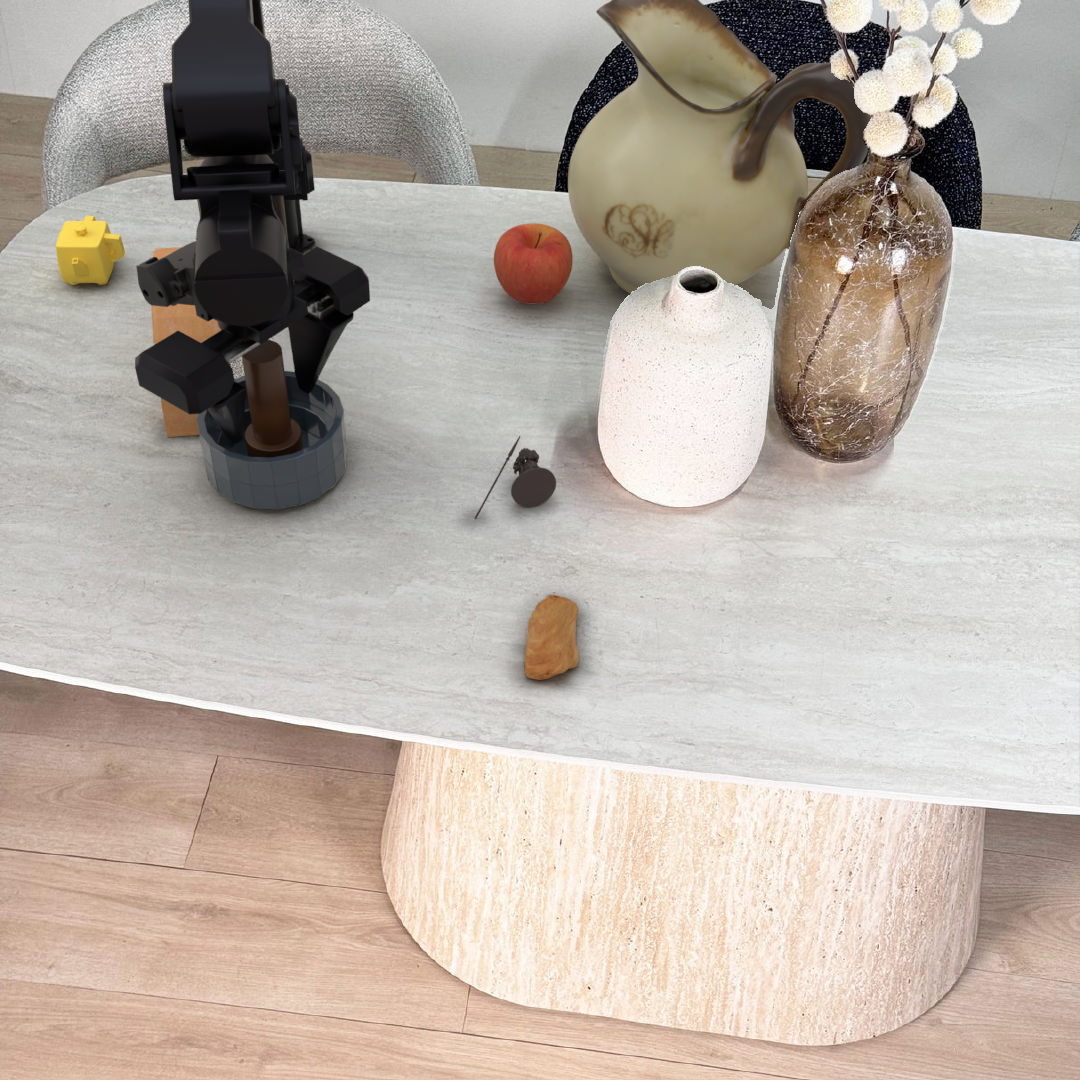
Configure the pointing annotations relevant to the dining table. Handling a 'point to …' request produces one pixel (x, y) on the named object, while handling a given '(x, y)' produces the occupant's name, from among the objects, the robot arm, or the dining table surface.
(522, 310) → the dining table surface
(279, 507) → the bowl
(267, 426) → the muddler
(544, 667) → the brown rounded lump
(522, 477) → the dark disc and stick
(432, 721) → the dining table surface
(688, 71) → the pitcher
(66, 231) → the teapot
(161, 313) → the arch
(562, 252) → the apple
